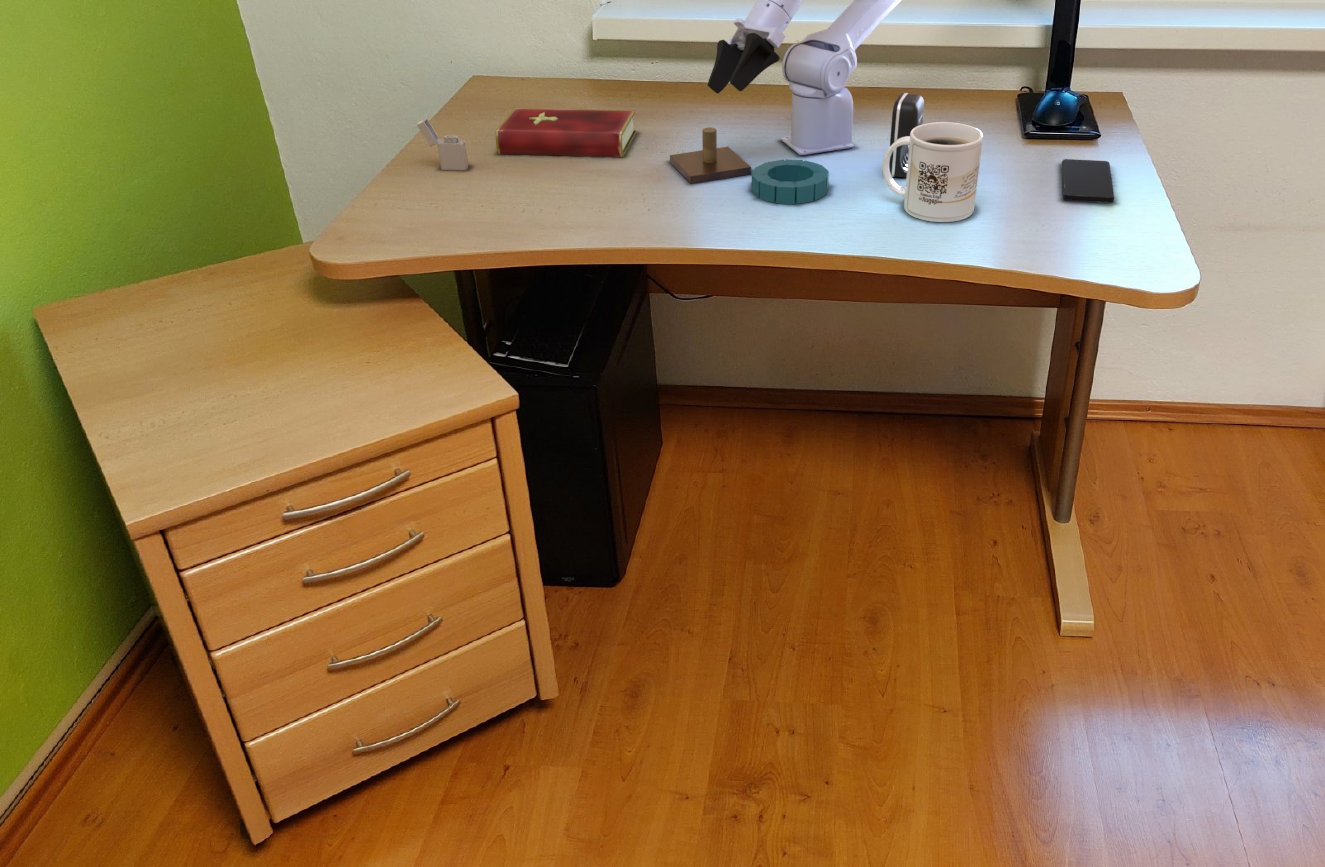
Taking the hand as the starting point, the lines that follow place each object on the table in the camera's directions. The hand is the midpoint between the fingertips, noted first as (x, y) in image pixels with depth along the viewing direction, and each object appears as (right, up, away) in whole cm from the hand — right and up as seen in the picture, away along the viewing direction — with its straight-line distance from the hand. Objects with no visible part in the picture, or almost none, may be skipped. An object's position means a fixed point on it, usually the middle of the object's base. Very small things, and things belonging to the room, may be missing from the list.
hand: (723, 88), depth 167 cm
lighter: (-44, -8, +16) cm, 47 cm away
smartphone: (+54, -14, +1) cm, 55 cm away
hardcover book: (-25, -3, +23) cm, 34 cm away
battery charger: (+28, -11, +7) cm, 31 cm away
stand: (-2, -9, +11) cm, 15 cm away
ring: (+10, -14, +3) cm, 18 cm away
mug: (+30, -19, -4) cm, 35 cm away
